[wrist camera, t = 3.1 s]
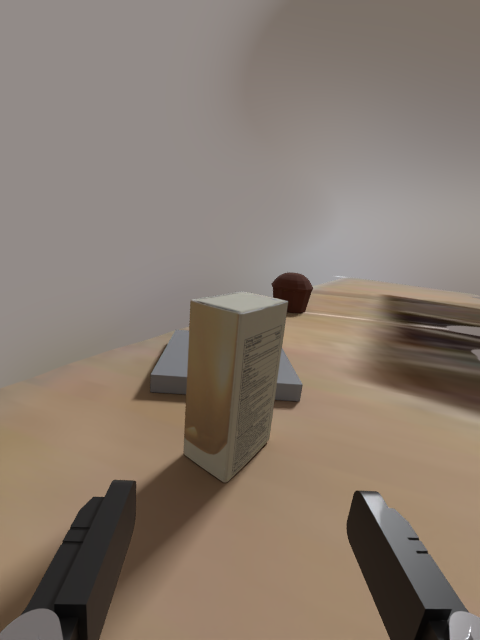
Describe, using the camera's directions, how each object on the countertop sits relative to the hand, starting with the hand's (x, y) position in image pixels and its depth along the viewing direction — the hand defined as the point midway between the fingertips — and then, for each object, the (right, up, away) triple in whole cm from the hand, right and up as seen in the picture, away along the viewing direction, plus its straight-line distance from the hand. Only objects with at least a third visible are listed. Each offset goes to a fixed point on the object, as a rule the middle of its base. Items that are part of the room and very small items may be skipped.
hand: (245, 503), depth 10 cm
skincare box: (-1, -4, +12) cm, 13 cm away
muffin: (+14, +10, +70) cm, 72 cm away
